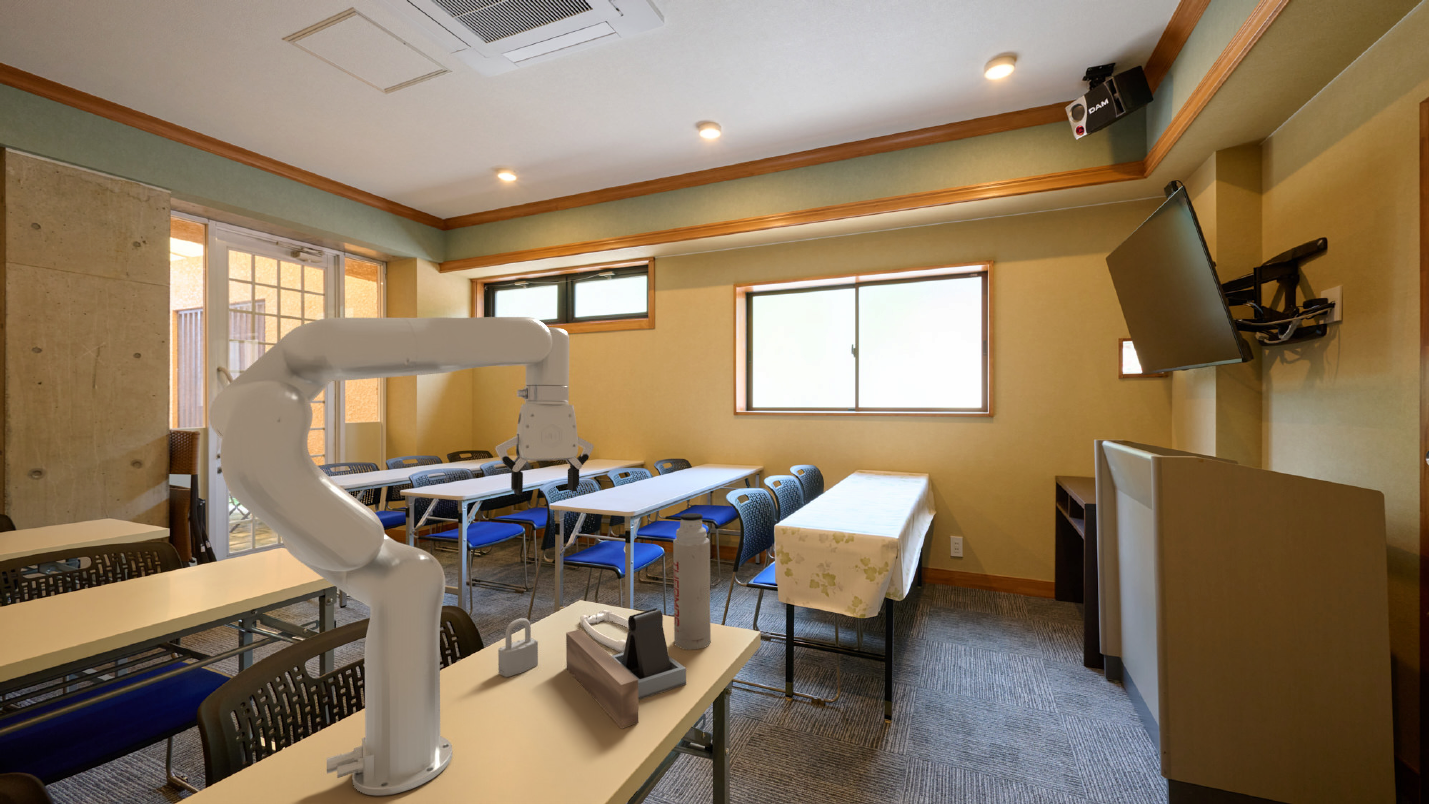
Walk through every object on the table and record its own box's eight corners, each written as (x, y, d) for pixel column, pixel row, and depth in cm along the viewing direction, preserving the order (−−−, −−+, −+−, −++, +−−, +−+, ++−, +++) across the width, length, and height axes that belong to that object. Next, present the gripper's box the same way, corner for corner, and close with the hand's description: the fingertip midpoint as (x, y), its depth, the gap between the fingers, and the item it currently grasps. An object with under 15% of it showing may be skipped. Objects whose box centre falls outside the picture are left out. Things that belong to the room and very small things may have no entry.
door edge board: (621, 728, 91) (621, 684, 91) (566, 667, 113) (566, 632, 113) (639, 722, 93) (639, 679, 93) (582, 663, 114) (581, 628, 115)
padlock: (529, 660, 116) (528, 611, 116) (540, 666, 114) (539, 616, 114) (496, 673, 111) (496, 622, 111) (507, 679, 108) (506, 626, 108)
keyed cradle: (637, 700, 100) (637, 683, 100) (607, 672, 111) (607, 656, 111) (686, 684, 105) (685, 668, 105) (653, 659, 116) (653, 644, 116)
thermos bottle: (675, 650, 120) (673, 518, 120) (673, 635, 128) (672, 511, 128) (712, 648, 121) (711, 517, 121) (708, 633, 129) (707, 510, 129)
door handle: (622, 662, 116) (571, 625, 136) (662, 649, 122) (608, 615, 142) (622, 649, 116) (571, 614, 136) (662, 636, 122) (608, 605, 142)
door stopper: (620, 672, 110) (619, 609, 110) (646, 662, 113) (645, 602, 114) (646, 689, 103) (645, 623, 103) (672, 678, 107) (672, 614, 107)
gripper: (501, 394, 94) (500, 498, 94) (600, 397, 103) (599, 491, 103) (492, 396, 100) (490, 493, 100) (586, 398, 110) (585, 487, 109)
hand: (545, 492), depth 101 cm, fingers open, 9 cm apart
